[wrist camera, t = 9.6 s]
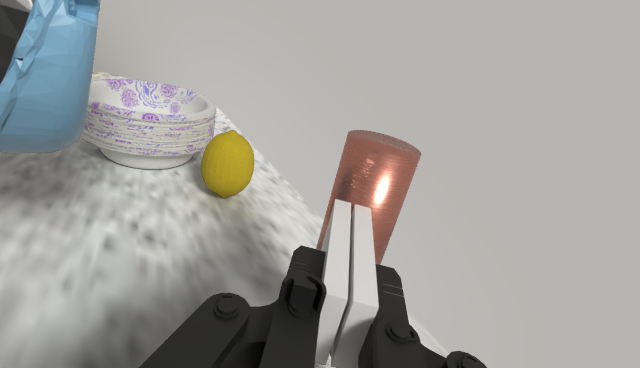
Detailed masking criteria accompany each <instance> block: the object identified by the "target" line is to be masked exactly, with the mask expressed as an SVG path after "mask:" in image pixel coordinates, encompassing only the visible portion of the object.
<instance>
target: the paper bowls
mask: <svg viewBox="0 0 640 368" xmlns="http://www.w3.org/2000/svg"><path fill="white" fill-rule="evenodd" d="M215 114H216V106H215V104H214V103H213V102H212V101H211V100H210V99H208V98H206V97H205V96H203V95H200V94H198V93H196V92H193V91H190V90H187V89H183V88H180V87H176V86H171V85H166V84H161V83H155V82H149V81H140V80H128V79H103V80H94V81H91V86H90V93H89V101H88V108H87V115H86V121H85V126H84V130H83V132H82V134H81V135H80V137H82V138H83V139H84V140H85V141H88V142H90V143H92V144H94V145H97V146H99V148H100V150H101V151H102V153H103V154H104V155H105V156H106V157H107V158H109V159H110V160H112V161H114V162H116V163H119V164H121V165H125V166H129V167H133V168H140V169H167V168H172V167H176V166H179V165H182V164H184V163H186V162H187V161H189V160H190V159H191V158H192V156H193V155H194V153H196V152H200V151H202V150H204V149H205V148H206V146H207V144H208V143H209V142H210V140H211V139H213V135H214V126H215Z"/></svg>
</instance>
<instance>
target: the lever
mask: <svg viewBox="0 0 640 368" xmlns="http://www.w3.org/2000/svg"><path fill="white" fill-rule="evenodd" d="M420 156H421V152H420V151H419V150H418V149H417V148H415V147H414V146H412V145H410V144H408V143H406V142H404V141H402V140H399V139H397V138H394V137H391V136H388V135H384V134H381V133H376V132H371V131H364V130H353V131H350V132H348V135H347V139H346V143H345V146H344V150H343V153H342V157H341V160H340V164H339V168H338V171H337V175H336V178H335V182H334V186H333V189H332V193H331V197H330V200H329V204H328V208H327V211H326V215H325V219H324V222H323V225H322V229H321V233H320V236H319V240H318V244H317V247H316V249H317V250H321V248H322V244H323V241H324V237H325V234H326V230H327V227H328V223H329V220H330V216H331V213H332V209H333V205H334V202H335V199H337V200H341V201H345V202H349V203H351V215H352V212H353V209H354V205H355V204H357V205H361V206H365V207H368V208H371V216H372V229H373V241H374V253H375V264H378V265H380V264H381V261H382V259H383V256H384V253H385V251H386V248H387V245H388V242H389V240H390V237H391V234H392V232H393V229H394V226H395V223H396V221H397V218H398V215H399V213H400V210H401V208H402V204H403V202H404V199H405V197H406V194H407V191H408V189H409V186H410V183H411V181H412V178H413V175H414V172H415V170H416V167H417V164H418V162H419V159H420ZM330 355H331V356H332V347H331V350H330ZM355 368H358V362H357V365H356V367H355Z"/></svg>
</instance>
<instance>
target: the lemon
mask: <svg viewBox="0 0 640 368" xmlns="http://www.w3.org/2000/svg"><path fill="white" fill-rule="evenodd" d="M253 170H254V154H253V150H252V147H251V145H250V144H249V142H248V141H247V140H246V139H245V138H244V137H243V136H241V135H239V134H238V133H237V132H236V131H235V130H230V131H228V132H225V133H221V134H219V135H217V136H215V137H214V138H213V139H211V140H210V142H209V143H208V144H207V146H206V148H205V151H204V154H203V158H202V164H201V171H202V176H203V179H204V182H205V184H206V185H207V186H208V187H209V188H210V189H211V190H212V191H213V192H215V193H217V194H219V195H220V196H221V197H222V198H226V197H228V196H229V195H234V194H237V193H239V192H241V191H242V190H243V189H244V188H245V187H246V186H247V185H248V184H249V182H250V180H251V178H252V174H253Z"/></svg>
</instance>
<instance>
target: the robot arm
mask: <svg viewBox="0 0 640 368" xmlns="http://www.w3.org/2000/svg"><path fill="white" fill-rule="evenodd" d="M99 9H100V0H0V153H50V152H55V151H59V150H60V149H63V148H66V147H68V146H70V145H71V144H73V143H74V142H75V141H76V140H77V139H78V138H79V137H80V135H81V134H82V132H83V130H84V126H85V121H86V115H87V108H88V101H89V93H90V86H91V77H92V68H93V60H94V52H95V43H96V34H97V23H98V13H99ZM403 296H404V294H403V290H402V283H401V278H400V277H399V275H398V274H397V272H396V271H395V269H393V268H390V267H386V266H382V265H378V264H375V253H374V241H373V229H372V216H371V208H368V207H365V206H361V205H357V204H355V205H354V209H353V212H352V215H351V203H349V202H345V201H341V200H337V199H335V202H334V205H333V209H332V213H331V216H330V220H329V223H328V227H327V230H326V234H325V237H324V241H323V244H322V248H321V250H317V249H313V248H309V247H305V246H300V247H299V248H297V249H296V250H295V251H294V252H293V256H292V259H291V262H290V266H289V269H288V272H287V276H286V277H285V279H284V280H283V282H282V286H281V290H280V294H279V298H278V299H277V300H276V301H275V302H274V303H272V304H270V305H266V306H260V307H250V306H249V304H248V303H247V301H246V300H245V299H244V298H242V297H241V296H239V295H236V294H232V293H220V294H216V295H213V296H211V297H210V298H209V299H207V300H206V301H205V302H204V303H203V304H202V305H201V306H200V307H199V308H198V309H197V310H196V311H195V312H194V313H193V314H192V315H191V316H190V317H189V318H188V319H187V320H186V321H185V322H184V323H183V324H182V325H181V326H180V327H179V328H178V329H177V330H176V331H175V332H174V333H173V334H172V335H171V336H170V337H169V338H168V339H167V340H166V341H165V342H164V343H163V344H162V345H161V346H160V347H159V348H158V349H157V350H156V351H155V352H154V353H153V354H152V355H151V356H150V357H149V358H148V359H147V360H146V361H145V362H144V363H143V364H142V365H141V366H140V367H139V368H314V364H315V362H316V363H320V364H324V365H326V362H327V359H328V356H329V353H330V350H331V347H332V356H331V367H335V368H355V367H356V365H357V362H358V368H487V367H486V366H485V365H484V364H483V363H482V362H481V361H480V360H478V359H477V358H476V357H474V356H472V355H470V354H468V353H465V352H461V351H455V352H451V353H450V354H449V355H448V356H447V358H445V357H443V356H441V355H439V354H437V353H435V352H433V351H431V350H430V349H428V348H426V347H425V346H423V345H422V344H421V342H420V338H419V336H418V334H417V332H416V331H415V330H414V329H413V327H412V326H410V325H409V321H408V316H407V310H406V305H405V299H404V297H403Z"/></svg>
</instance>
